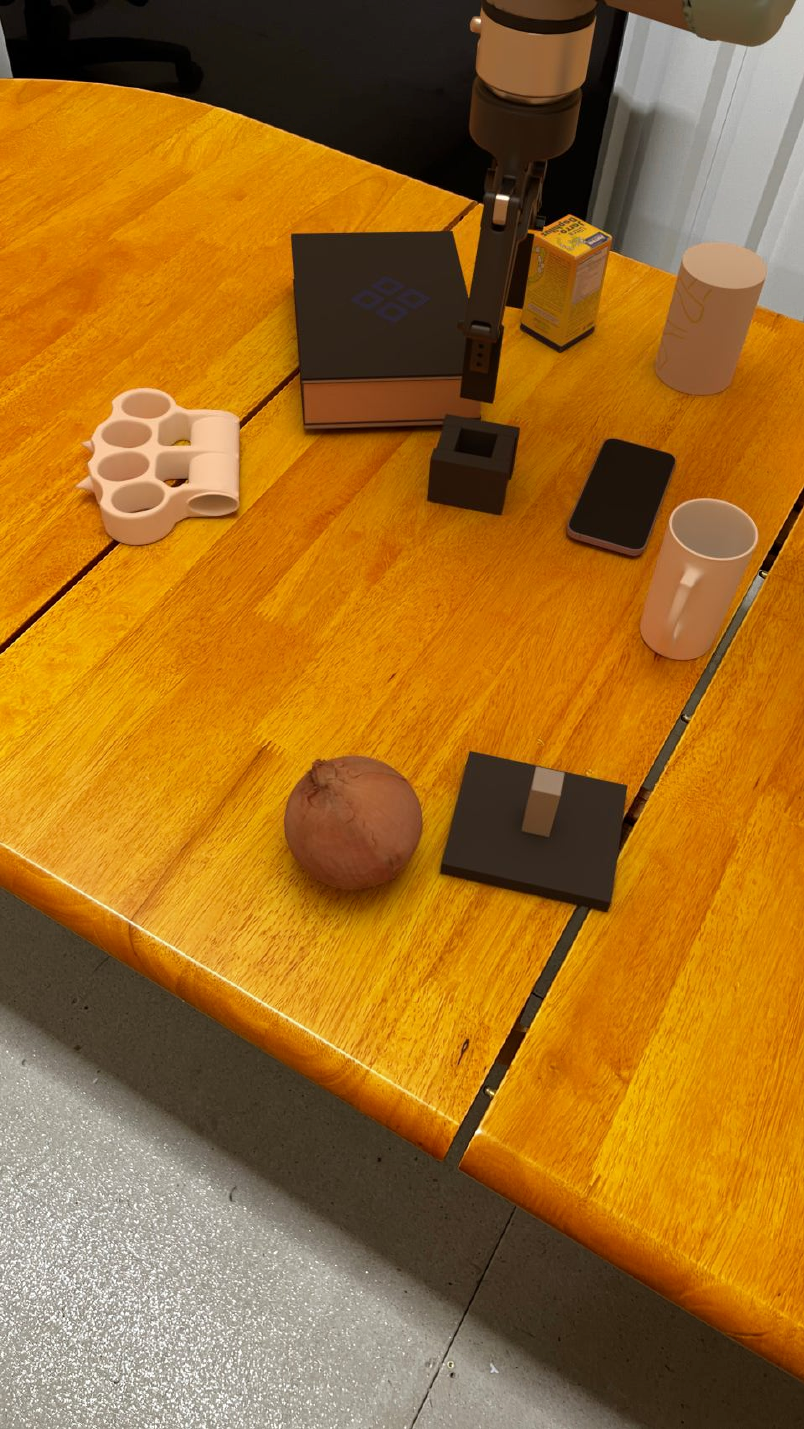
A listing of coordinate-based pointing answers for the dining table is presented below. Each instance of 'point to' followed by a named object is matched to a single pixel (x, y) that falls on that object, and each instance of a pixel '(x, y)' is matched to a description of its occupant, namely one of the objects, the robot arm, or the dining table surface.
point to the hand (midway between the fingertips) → (493, 349)
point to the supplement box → (565, 282)
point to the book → (379, 328)
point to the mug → (696, 576)
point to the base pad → (527, 854)
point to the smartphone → (622, 497)
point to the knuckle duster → (161, 465)
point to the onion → (352, 822)
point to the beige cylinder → (709, 317)
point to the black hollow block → (472, 464)
